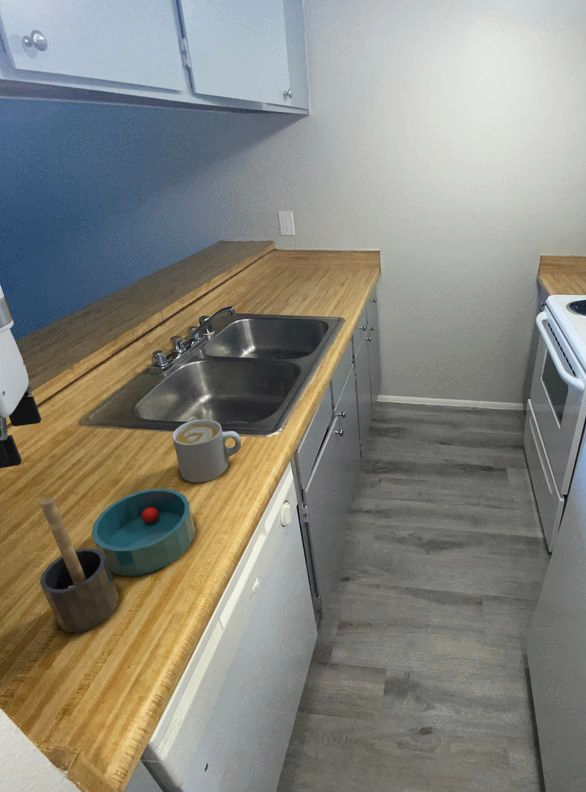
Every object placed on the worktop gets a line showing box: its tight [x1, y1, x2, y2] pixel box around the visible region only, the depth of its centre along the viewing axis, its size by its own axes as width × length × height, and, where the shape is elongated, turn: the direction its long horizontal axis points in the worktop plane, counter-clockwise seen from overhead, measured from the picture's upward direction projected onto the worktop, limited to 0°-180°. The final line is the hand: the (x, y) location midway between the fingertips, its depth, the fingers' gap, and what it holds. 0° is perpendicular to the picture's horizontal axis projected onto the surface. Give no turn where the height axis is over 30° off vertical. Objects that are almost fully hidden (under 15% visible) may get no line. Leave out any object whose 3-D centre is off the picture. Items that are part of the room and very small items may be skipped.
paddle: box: [39, 496, 86, 588], centre depth 70 cm, size 4×2×22 cm, turn 113°
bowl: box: [91, 488, 196, 577], centre depth 87 cm, size 16×16×6 cm
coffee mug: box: [172, 419, 242, 483], centre depth 105 cm, size 13×10×10 cm
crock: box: [39, 547, 120, 633], centre depth 73 cm, size 8×8×9 cm
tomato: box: [142, 507, 159, 523], centre depth 91 cm, size 3×3×3 cm
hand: (17, 443), depth 60 cm, fingers open, 9 cm apart
